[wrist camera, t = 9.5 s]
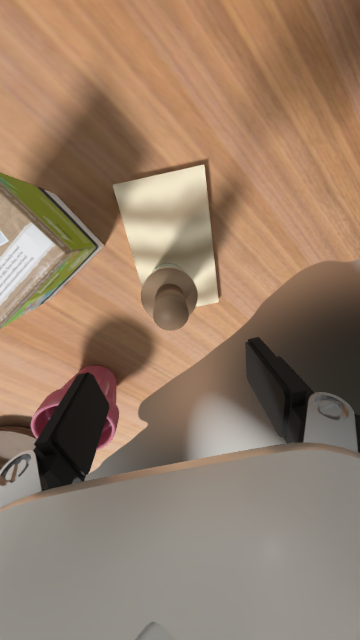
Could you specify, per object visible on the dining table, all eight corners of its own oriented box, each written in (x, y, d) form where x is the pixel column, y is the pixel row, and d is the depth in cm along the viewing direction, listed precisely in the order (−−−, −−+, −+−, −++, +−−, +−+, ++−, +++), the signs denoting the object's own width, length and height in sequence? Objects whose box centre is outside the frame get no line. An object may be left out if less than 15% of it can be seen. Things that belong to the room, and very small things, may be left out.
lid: (134, 273, 25) (124, 287, 18) (191, 261, 25) (201, 271, 18) (150, 324, 28) (145, 350, 22) (200, 313, 28) (210, 337, 22)
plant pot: (133, 363, 43) (121, 411, 31) (121, 404, 48) (107, 457, 36) (69, 349, 40) (29, 396, 28) (64, 394, 45) (29, 449, 33)
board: (114, 186, 28) (112, 184, 27) (202, 167, 28) (204, 164, 27) (151, 313, 37) (150, 316, 36) (217, 300, 37) (218, 302, 36)
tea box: (54, 299, 35) (-14, 339, 21) (2, 257, 31) (-120, 274, 18) (107, 245, 31) (65, 253, 18) (56, 191, 28) (-45, 150, 14)
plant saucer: (14, 469, 57) (5, 482, 54) (-39, 431, 48) (-53, 444, 45) (73, 453, 56) (68, 466, 53) (30, 411, 47) (21, 423, 44)
